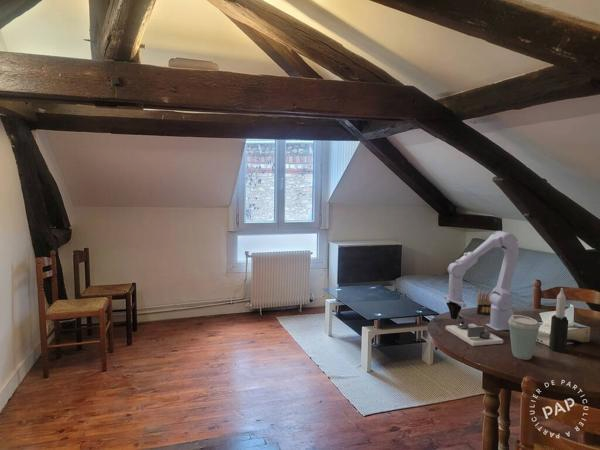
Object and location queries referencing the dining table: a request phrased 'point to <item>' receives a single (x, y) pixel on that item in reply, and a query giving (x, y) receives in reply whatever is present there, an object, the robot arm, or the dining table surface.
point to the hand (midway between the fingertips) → (454, 318)
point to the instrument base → (473, 340)
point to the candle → (559, 326)
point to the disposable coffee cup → (523, 335)
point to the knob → (461, 322)
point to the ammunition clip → (484, 304)
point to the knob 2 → (478, 332)
